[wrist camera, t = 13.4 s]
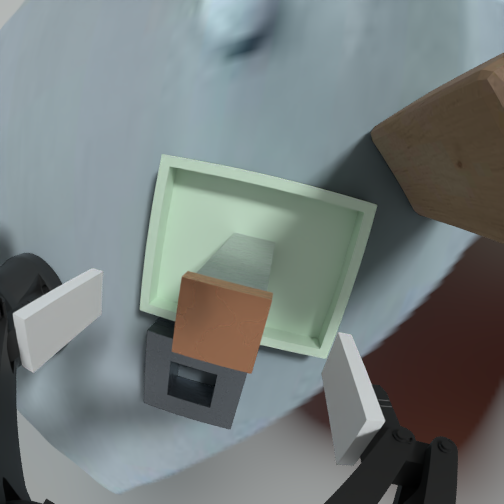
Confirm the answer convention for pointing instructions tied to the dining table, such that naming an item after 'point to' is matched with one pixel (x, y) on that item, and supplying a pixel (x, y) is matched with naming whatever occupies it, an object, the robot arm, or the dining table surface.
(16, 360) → the robot arm
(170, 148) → the dining table surface
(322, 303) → the tray
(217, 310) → the pin
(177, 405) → the block
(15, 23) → the dining table surface
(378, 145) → the wooden block
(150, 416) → the dining table surface
